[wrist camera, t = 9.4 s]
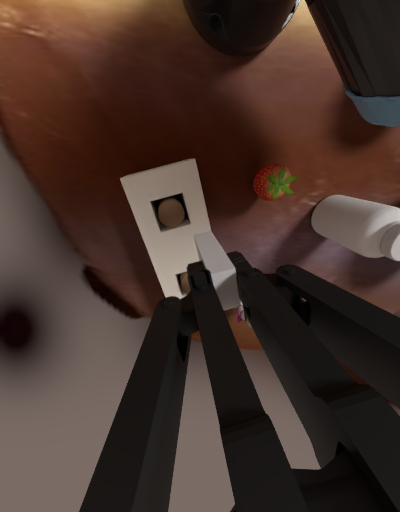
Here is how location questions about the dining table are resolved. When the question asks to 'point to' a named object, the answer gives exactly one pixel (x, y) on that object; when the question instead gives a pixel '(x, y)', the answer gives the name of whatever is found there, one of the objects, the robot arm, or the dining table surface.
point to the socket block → (163, 237)
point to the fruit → (273, 182)
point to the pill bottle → (359, 225)
